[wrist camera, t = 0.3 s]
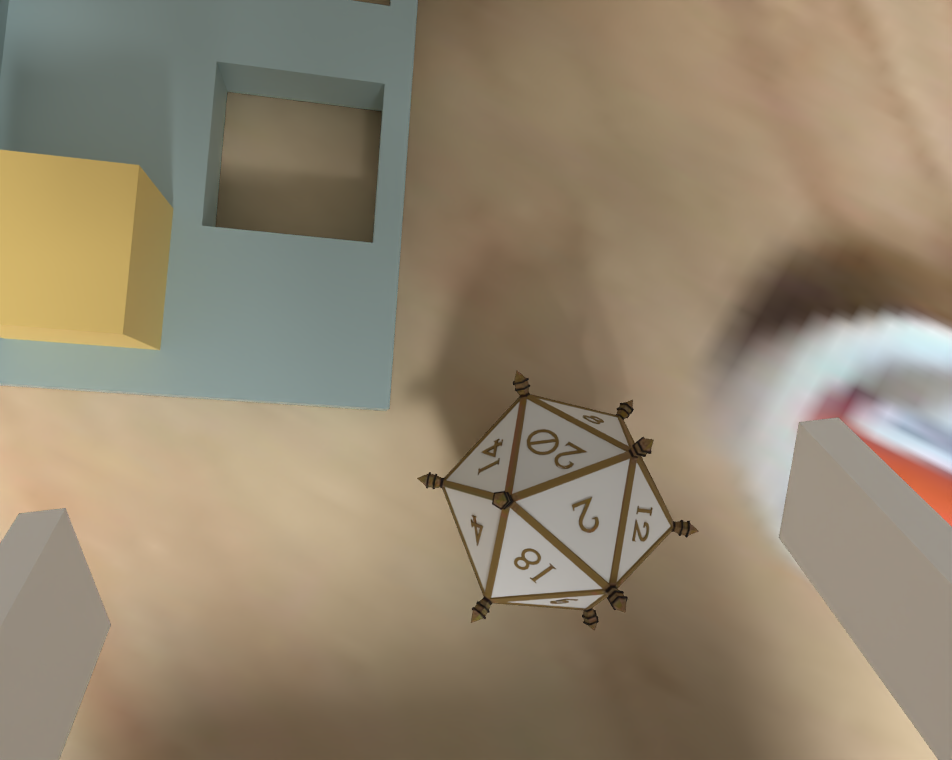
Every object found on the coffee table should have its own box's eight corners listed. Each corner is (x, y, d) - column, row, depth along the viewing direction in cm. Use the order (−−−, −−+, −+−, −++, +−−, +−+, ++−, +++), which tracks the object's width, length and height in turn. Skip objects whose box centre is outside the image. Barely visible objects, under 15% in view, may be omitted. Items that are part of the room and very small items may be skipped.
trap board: (386, 410, 30) (392, 407, 26) (-31, 383, 28) (-102, 374, 24) (429, -210, 32) (442, -313, 28) (44, -285, 30) (-9, -410, 26)
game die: (468, 499, 34) (327, 488, 26) (600, 359, 33) (498, 297, 24) (603, 667, 30) (490, 722, 22) (762, 518, 29) (709, 513, 20)
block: (160, 350, 27) (122, 334, 22) (3, 338, 26) (-68, 318, 21) (173, 208, 27) (139, 165, 23) (19, 192, 26) (-48, 144, 22)
